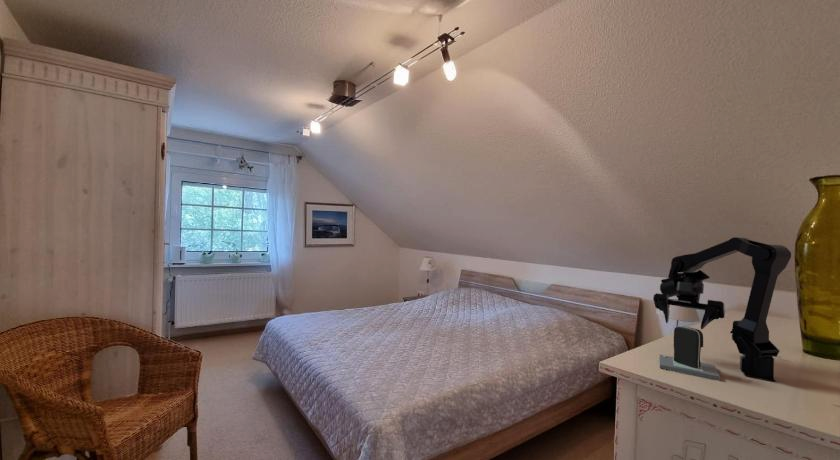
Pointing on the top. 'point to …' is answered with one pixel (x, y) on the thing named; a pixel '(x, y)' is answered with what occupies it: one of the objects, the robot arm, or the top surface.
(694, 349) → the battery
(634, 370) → the top surface
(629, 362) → the top surface
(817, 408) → the top surface
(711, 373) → the charging pad
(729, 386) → the top surface
